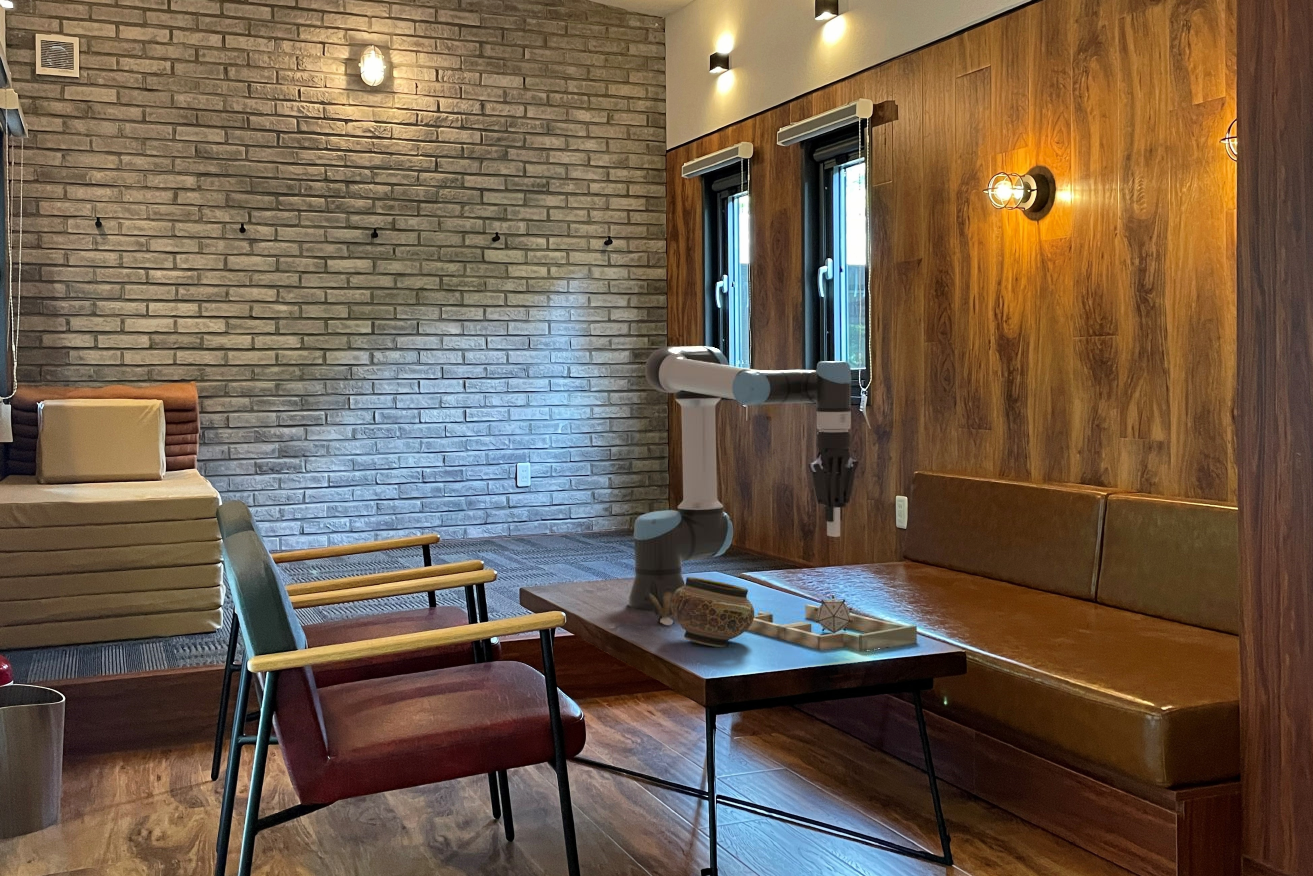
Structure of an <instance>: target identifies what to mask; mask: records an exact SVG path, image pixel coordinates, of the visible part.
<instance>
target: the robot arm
mask: <svg viewBox="0 0 1313 876" xmlns="http://www.w3.org/2000/svg"><path fill="white" fill-rule="evenodd" d="M645 362H646V363H645V368H644V373H645V375H644V376H645V379H646V381H647V383H648V384H649V385H650V386H651V387H652V388H653V389H654V390H656V391H658V392H661V393H668V394H674V397H675V399H674V400H675V401H676V402H677V403H678V404H679V405H680V408H681V442H682V443H681V447H682V449H681V450H682V451H681V453H682V495H683V499H682V501H681V502H680V503H679V505H677V510H673V509H670V510H669V509H668V510H659V511H658V510H655V511H652V512H651V511H650V512H647V513H644V514H641V515H639V516H638V517H637V518H636V519H635V521H634V527H633V530H634V531H633V538H634V541H633V542H634V543H633V544H634V579H633V582H632V586H631V589H630V593H629V596H628V607H629V606H630V607H629V608H631V609H633V608H634V610H637V611H638V610H639V611H645V612H646V611H648V612H654V610H653V609H654V608H653V606H652V605H651V603H650V602H649V600H648V598H647V594H646V593H647V592H646V591H647V589H648V591H650V592H651V594H652V595H653V596H654V597H655V598H656V599H657V601H658V602H659V604H660V606H661V608H662V606H663V594H664V589H666V587H668V586H669V587H672V588H674V589H675V590H677V589H678V588H680V587H682V586H684V585H685V584H686V582H685V581H684V578H683V574H682V573H683V572H682V571H683V569H682V568H683V567H682V562H686V561H693V560H700V559H701V560H702V559H706V560H709V559H711V558H714V557H719V556H721V555H724V553H726V551H727V550H728V549H729V548H730V546H731V544H732V541H733V536H734V527H733V522H732V521H731V520H730V519H731V518H730V516H729V515H728V513H726V512H725V511H724V505H723V504H722V503H721V502H720V501H719V500H718V490H717V488H718V487H717V486H718V483H717V482H718V481H717V479H718V478H717V442H716V440H717V439H716V437H717V434H716V433H717V432H716V430H717V429H716V405H717V404H718V403H719V401H721V399H722V398H724V399H730V400H736V401H737V402H738V403H739V404H740V405H746V406H747V405H748V406H758V405H775V404H776V405H777V404H778V405H779V404H781V405H782V404H816V429H817V430H818V431H817V433H816V448H817V449H818V452H817V455H816V459H815V460H814V461H813V462H809V463H808V465H807V466H808V468H809V470H810V472H811V476H812V482H813V485H814V486H813V487H814V492H815V497H816V501H817V504H818V505H821V506H822V507H824V520H825V522H826V536H828V537H834V538H836V537H839V538H840V537H841V521H842V519H843V508H845V507H846V506H847V504H849V503H850V501H851V496H852V491H853V483H854V479H855V473H856V470H857V468H858V466H859V461H858V460H855V459H853V458H852V457H851V454H850V451H849V450H850V448H851V445H852V444H851V443H852V433H851V431H849V430H850V429H851V426H852V423H851V421H852V419H851V418H852V413H851V411H852V407H851V406H852V405H851V404H852V403H851V396H852V395H851V394H852V393H851V392H852V381H853V379H852V375H851V374H852V373H851V365H850V363H849V362H848V361H843V360H842V361H833V360H832V361H830V360H829V361H818V363H817V365H816V369H815V370H814V369H788V370H787V369H786V370H783V369H782V370H777V369H776V370H760V369H754V368H746V367H740V366H739V367H738V366H734V365H730V364H729V362H728V359H727V357H726V356H725V354H723V353H722V351H721V350H720V349H718V348H715V347H713V346H705V345H696V346H695V345H693V346H692V345H691V346H689V345H688V346H686V345H685V346H672V345H671V346H664V347H660V348H657V349H656V350H654V351H653V352H652V353H651V354H650V355H649V357H648V358H647V361H645Z"/></svg>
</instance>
